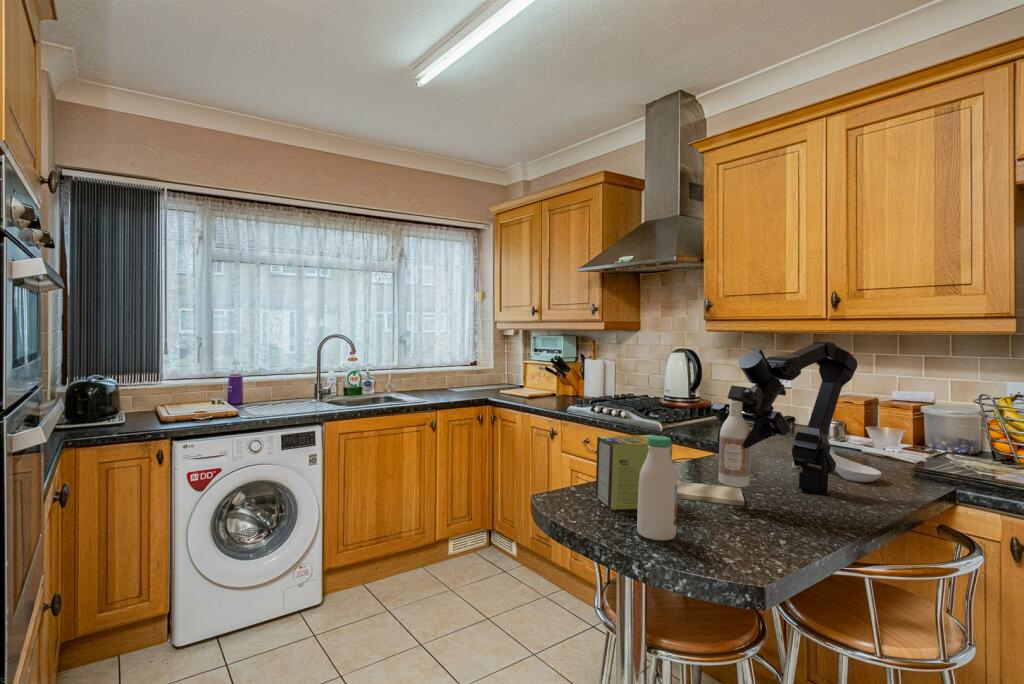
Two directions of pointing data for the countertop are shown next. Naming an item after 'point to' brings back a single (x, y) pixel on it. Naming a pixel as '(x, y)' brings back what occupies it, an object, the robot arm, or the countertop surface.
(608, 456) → the protein box
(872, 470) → the spoon rest
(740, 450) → the bath foam
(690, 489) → the birch board
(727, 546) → the countertop surface
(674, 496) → the milk bottle
